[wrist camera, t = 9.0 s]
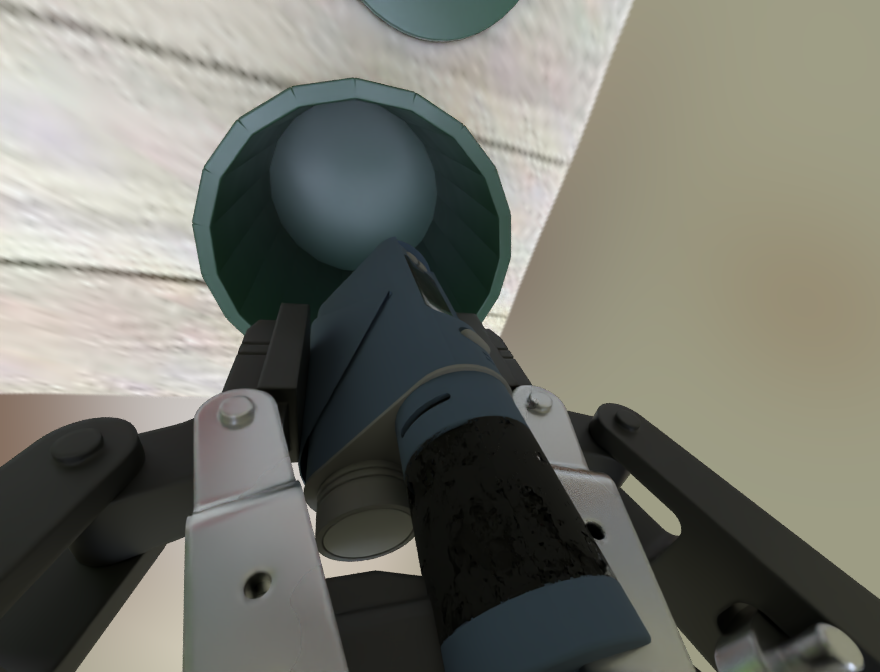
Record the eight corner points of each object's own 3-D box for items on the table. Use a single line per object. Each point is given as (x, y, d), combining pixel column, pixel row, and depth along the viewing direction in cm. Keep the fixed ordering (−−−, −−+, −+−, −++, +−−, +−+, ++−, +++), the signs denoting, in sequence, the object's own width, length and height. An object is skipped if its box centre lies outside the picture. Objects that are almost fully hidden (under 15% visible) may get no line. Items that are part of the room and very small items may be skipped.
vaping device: (447, 268, 13) (763, 753, 3) (353, 357, 14) (393, 900, 5) (398, 218, 12) (707, 822, 2) (297, 323, 13) (192, 1008, 3)
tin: (253, 65, 21) (155, 29, 10) (458, 112, 25) (552, 124, 14) (268, 268, 28) (220, 381, 17) (427, 281, 32) (474, 380, 21)
